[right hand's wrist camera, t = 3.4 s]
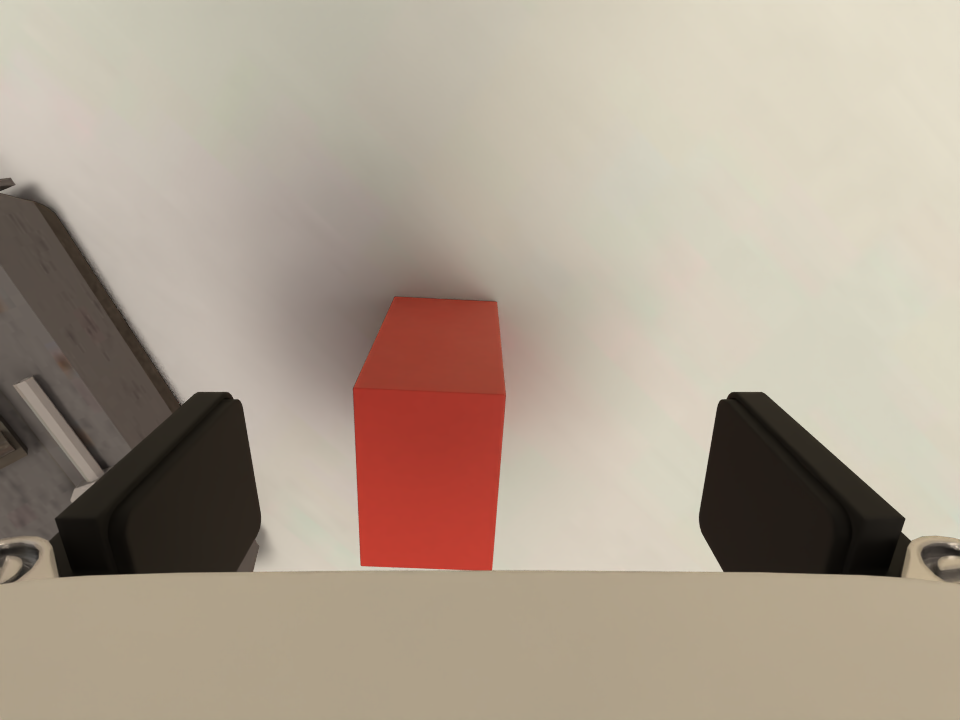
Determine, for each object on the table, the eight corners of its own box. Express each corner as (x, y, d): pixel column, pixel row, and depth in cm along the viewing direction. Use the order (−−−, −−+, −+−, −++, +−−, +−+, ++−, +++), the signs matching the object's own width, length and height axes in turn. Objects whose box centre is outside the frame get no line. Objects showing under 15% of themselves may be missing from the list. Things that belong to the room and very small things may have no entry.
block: (497, 301, 32) (505, 394, 21) (488, 435, 35) (491, 571, 25) (394, 296, 31) (352, 387, 21) (395, 431, 35) (360, 566, 25)
